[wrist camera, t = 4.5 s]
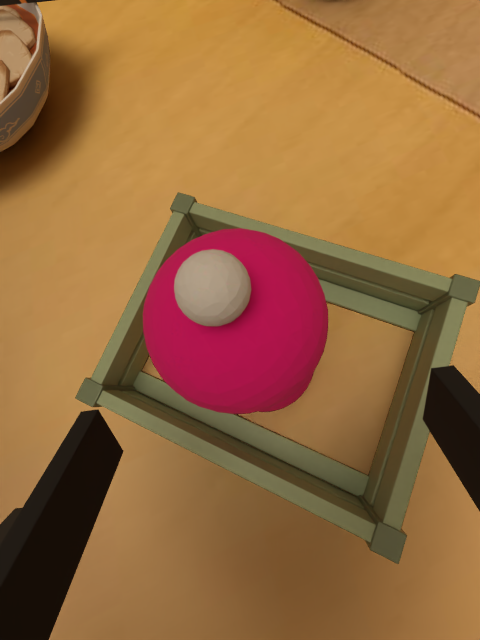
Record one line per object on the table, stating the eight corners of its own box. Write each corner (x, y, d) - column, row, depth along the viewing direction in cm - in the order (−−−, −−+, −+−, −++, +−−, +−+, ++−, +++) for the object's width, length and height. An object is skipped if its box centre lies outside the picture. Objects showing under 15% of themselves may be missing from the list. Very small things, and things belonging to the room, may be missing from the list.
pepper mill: (244, 423, 25) (94, 534, 5) (211, 343, 27) (12, 214, 7) (326, 385, 24) (477, 360, 5) (286, 308, 26) (284, 76, 7)
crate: (114, 397, 27) (74, 398, 22) (196, 225, 30) (177, 191, 25) (372, 525, 22) (398, 565, 17) (441, 303, 24) (481, 280, 19)
